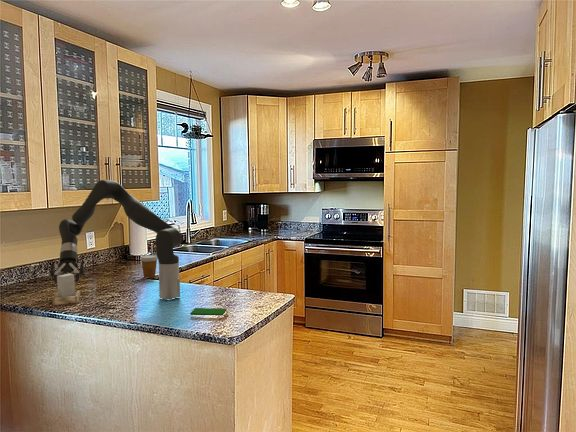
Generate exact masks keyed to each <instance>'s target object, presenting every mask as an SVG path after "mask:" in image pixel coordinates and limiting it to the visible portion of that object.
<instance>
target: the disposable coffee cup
mask: <svg viewBox="0 0 576 432" xmlns="http://www.w3.org/2000/svg"><path fill="white" fill-rule="evenodd" d="M139 260H140V263H141V268H142V269H141V270H142V273H143V278H145V279H152V278H153V279H154V278H156V273H157V263H158V262H157V261H158V258H157V254H145V255H142V256H141V257H140V259H139Z"/></svg>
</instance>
